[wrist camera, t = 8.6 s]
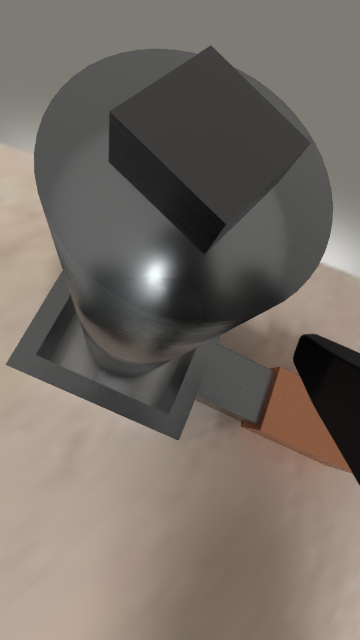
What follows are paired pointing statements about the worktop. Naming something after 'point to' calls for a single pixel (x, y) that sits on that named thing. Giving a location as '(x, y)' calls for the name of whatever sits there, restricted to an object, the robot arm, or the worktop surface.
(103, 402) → the saucepan
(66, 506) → the worktop surface
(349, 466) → the robot arm
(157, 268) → the cylinder with cube top
